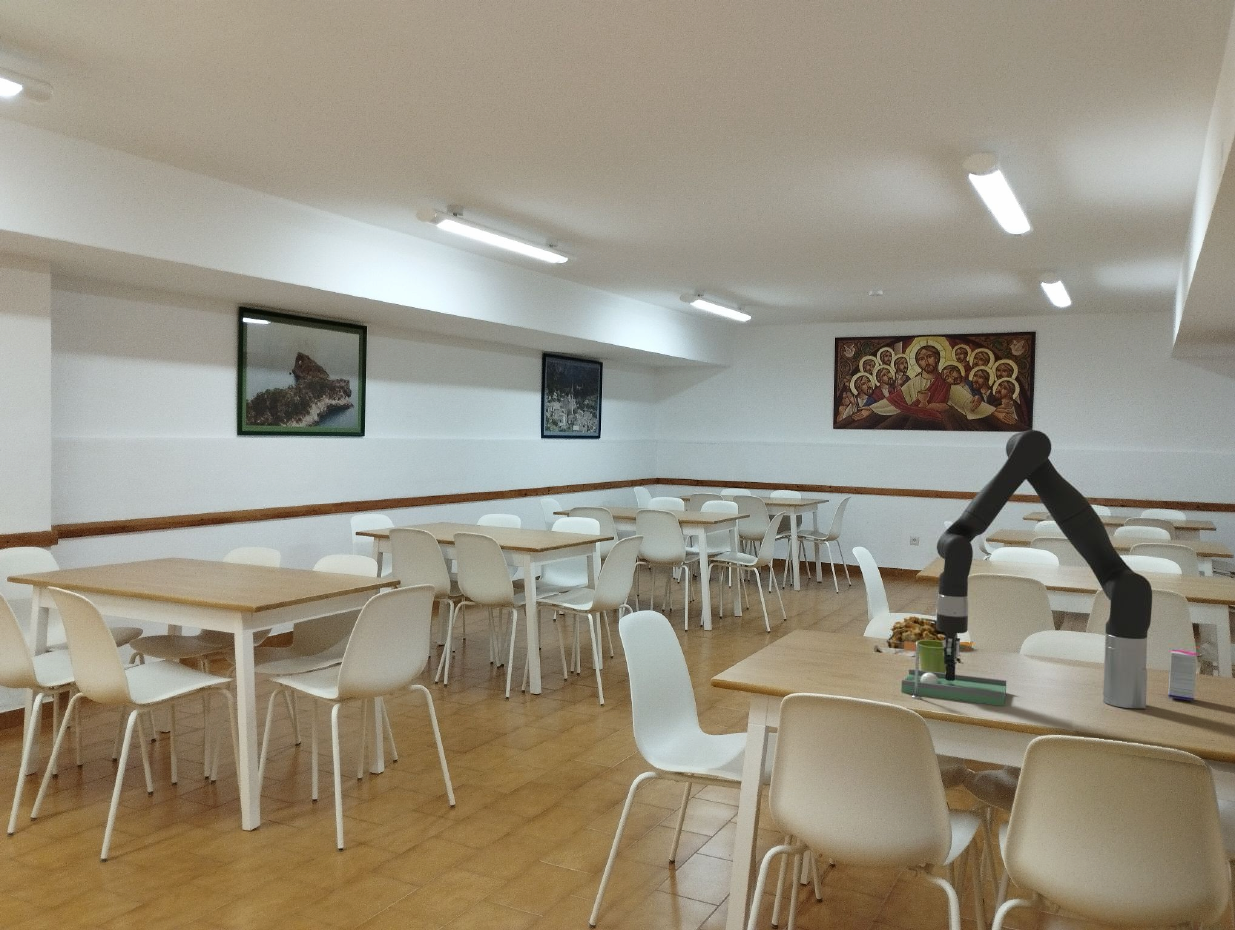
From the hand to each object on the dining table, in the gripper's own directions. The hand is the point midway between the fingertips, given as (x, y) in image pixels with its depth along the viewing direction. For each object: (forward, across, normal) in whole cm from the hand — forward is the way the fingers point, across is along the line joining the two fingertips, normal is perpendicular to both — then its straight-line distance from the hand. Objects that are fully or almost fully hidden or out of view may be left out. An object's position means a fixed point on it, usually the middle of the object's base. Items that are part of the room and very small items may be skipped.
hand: (950, 679), depth 240 cm
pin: (+3, -10, +7) cm, 13 cm away
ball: (+1, 0, +5) cm, 5 cm away
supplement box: (+3, +26, -54) cm, 60 cm away
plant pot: (+4, +18, +6) cm, 19 cm away
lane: (+3, 0, -1) cm, 3 cm away
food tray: (+4, +55, +13) cm, 56 cm away
